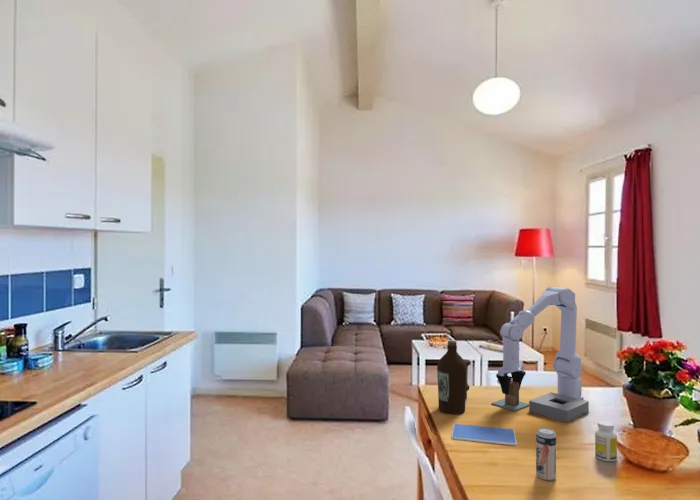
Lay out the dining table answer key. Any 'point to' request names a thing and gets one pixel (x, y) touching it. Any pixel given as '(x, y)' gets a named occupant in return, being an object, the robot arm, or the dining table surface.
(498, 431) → the tablet computer
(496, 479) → the dining table surface
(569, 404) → the grey flat block
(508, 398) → the tall wooden block
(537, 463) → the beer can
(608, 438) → the supplement bottle
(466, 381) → the bolt
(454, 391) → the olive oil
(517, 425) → the dining table surface
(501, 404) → the mat
